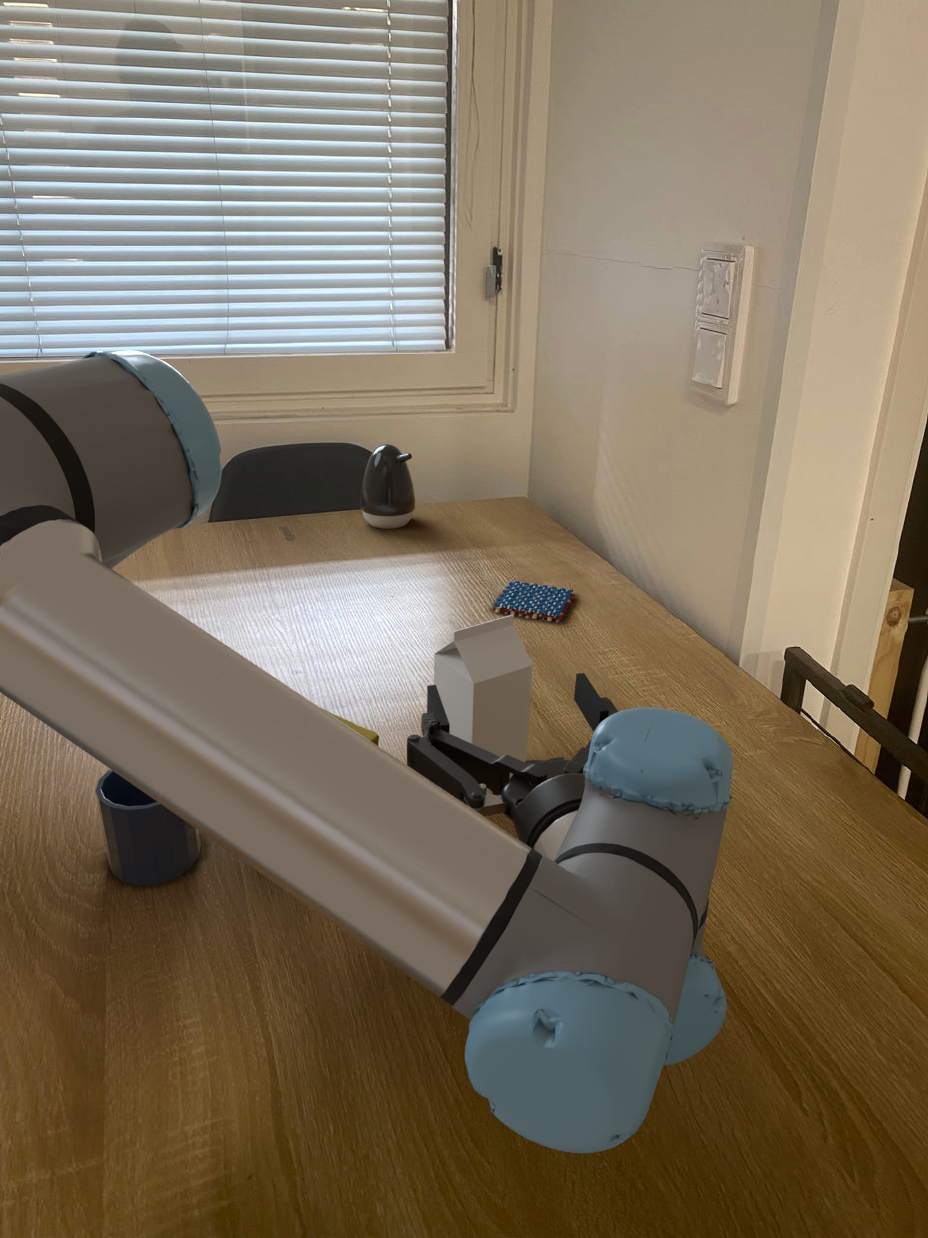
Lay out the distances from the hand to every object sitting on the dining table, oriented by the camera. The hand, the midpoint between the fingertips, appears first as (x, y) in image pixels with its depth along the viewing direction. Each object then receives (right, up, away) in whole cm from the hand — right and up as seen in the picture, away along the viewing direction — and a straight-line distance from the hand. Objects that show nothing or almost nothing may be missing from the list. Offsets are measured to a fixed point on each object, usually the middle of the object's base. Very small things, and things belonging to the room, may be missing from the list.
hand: (506, 692), depth 81 cm
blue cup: (-33, -16, +4) cm, 36 cm away
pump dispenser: (-18, +24, +87) cm, 92 cm away
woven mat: (+7, +8, +56) cm, 57 cm away
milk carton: (-2, -11, +16) cm, 19 cm away
